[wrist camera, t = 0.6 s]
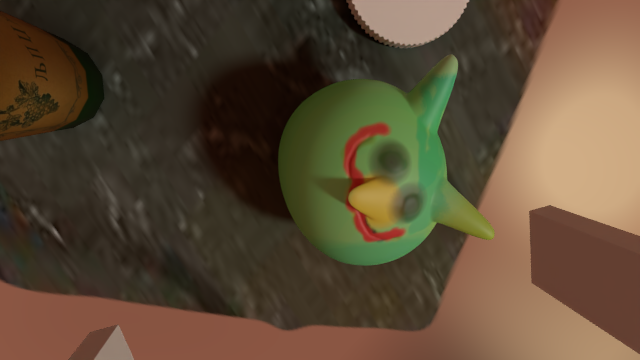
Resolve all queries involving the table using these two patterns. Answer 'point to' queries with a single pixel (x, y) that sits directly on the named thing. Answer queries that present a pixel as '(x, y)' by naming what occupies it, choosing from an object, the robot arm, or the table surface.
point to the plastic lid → (406, 19)
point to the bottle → (43, 81)
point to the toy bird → (373, 168)
